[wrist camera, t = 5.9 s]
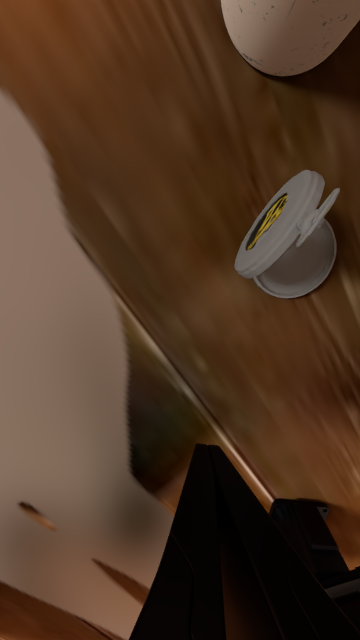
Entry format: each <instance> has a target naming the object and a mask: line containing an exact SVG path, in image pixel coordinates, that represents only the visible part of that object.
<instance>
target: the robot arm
mask: <svg viewBox="0 0 360 640" xmlns="http://www.w3.org/2000/svg"><path fill="white" fill-rule="evenodd" d="M328 513H329V508H328V506H327V505H326V504H319V503H308V502H297V501H286V500H275V501H273V503H272V506H271V509H270V512H269V514H268V513H267V511H266V510H265V509H264V507H263V506H262V504H261V503H260V502H259V500H258V499H257V497H256V496H255V495H254V493H253V492H252V491H251V489H250V488H249V486H248V485H247V484H246V482H245V481H244V480H243V478H242V477H241V475H240V474H239V473H238V471H237V470H236V469H235V467H234V466H233V464H232V463H231V462H230V460H229V459H228V457H227V456H226V455H225V453H224V452H223V451H222V449H221V448H220V447H219V446H217V445H208V446H207V445H206V444H198V443H197V444H196V445H195V449H194V452H193V455H192V459H191V462H190V466H189V469H188V472H187V476H186V479H185V482H184V486H183V489H182V492H181V496H180V499H179V503H178V506H177V509H176V513H175V516H174V519H173V523H172V526H171V530H170V533H169V536H168V539H167V542H166V546H165V549H164V552H163V555H162V559H161V561H160V565H159V567H158V570H157V573H156V576H155V578H154V581H153V583H152V586H151V588H150V591H149V593H148V596H147V598H146V601H145V603H144V605H143V608H142V610H141V612H140V615H139V617H138V619H137V622H136V624H135V626H134V629H133V631H132V633H131V636H130V638H129V640H360V566H359V567H355V568H356V569H354V570H351V571H350V570H349V569H348V567H347V565H346V563H345V561H344V559H343V557H342V555H341V553H340V552H339V547H338V545H337V543H336V541H335V540H334V538H333V536H332V534H331V532H330V530H329V528H328V527H327V525H326V523H325V520H326V517H327V515H328Z"/></svg>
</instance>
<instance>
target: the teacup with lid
mask: <svg viewBox="0 0 360 640" xmlns="http://www.w3.org/2000/svg"><path fill="white" fill-rule="evenodd" d="M221 5H222V11H223V17H224V20H225V24H226V27H227V30H228V33H229V35H230V38H231V40H232V42H233V44H234V45H235V47H236V49H237V50H238V52H239V53H240V54H241V55H242V57H243V58H244V59H245V60H246V61H247V62H248V63H249V64H251V65H252V66H253V67H255V68H256V69H258V70H260V71H262V72H264V73H266V74H270V75H274V76H292V75H297V74H300V73H303V72H306V71H308V70H310V69H312V68H314V67H315V66H317V65H318V64H320V63H321V62H322V61H324V60H325V59H326V58H327V57H328V56H329V55H330V54H332V53H333V51H334V50H335V49H336V48H337V47H338V46H339V45H340V43H341V42H342V41H343V40H344V39H345V37H346V36H347V35H348V34H349V32H350V31H351V30H352V29H353V27H354V26H355V25H356V24H357V23H358V21H359V20H360V0H221Z"/></svg>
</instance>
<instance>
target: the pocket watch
mask: <svg viewBox="0 0 360 640" xmlns="http://www.w3.org/2000/svg"><path fill="white" fill-rule="evenodd" d="M324 184H325V182H324V179H323V177H322V176H321V175H320V174H318V173H317V172H315V171H309V170H304V171H302V172H300V173H299V174H297V175H296V176H294V177H293V178H291V179H290V180H289V181H288V182H287V183H286V184H285V185H284V186H283V187H282V188H281V189H280V190H279V191H278V192H277V194H276V195H275V196H274V197H273V198H272V199H271V200H270V202H269V203H268V204H267V205H266V207H265V208H264V209H263V211H262V212H261V213H260V215H259V216H258V217H257V219H256V220H255V222H254V224H253V225H252V227H251V229H250V230H249V232H248V233H247V235H246V237H245V238H244V240H243V242H242V244H241V247H240V249H239V251H238V254H237V257H236V260H235V270H237V271H238V273H239V274H240V275H242V276H243V277H244V278H253V279H254V281H255V282H256V284H257V285H258V286H259V287H260V288H261V289H263V290H264V291H265V292H266V293H268V294H270V295H273V296H276V297H279V298H295V297H298V296H302V295H305V294H307V293H308V292H310V291H312V290H313V289H315V288H316V287H318V286H319V285H320V284H321V283H322V282H323V281H324V279H325V278H326V277H327V276H328V274H329V272H330V270H331V269H332V266H333V264H334V261H335V256H336V239H335V235H334V232H333V229H332V227H331V226H330V224H329V223H328V221H327V220H326V219H324V217H325V215H326V214H327V212H328V211H329V210H330V208H331V206H332V205H333V203H334V201H335V200H336V198H337V196H338V195H339V192H340V188H336V189H335V190H334V191H333V192H332V193H331V194H330V195H329V197H328V198H327V199H326V200H325V202H324V203H323V204H322V205H321V207H320V208H319V209H317V207H318V205H319V203H320V199H321V196H322V192H323V188H324Z"/></svg>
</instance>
